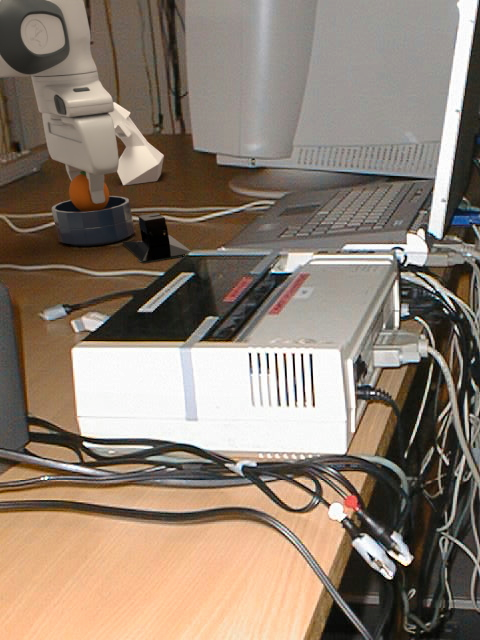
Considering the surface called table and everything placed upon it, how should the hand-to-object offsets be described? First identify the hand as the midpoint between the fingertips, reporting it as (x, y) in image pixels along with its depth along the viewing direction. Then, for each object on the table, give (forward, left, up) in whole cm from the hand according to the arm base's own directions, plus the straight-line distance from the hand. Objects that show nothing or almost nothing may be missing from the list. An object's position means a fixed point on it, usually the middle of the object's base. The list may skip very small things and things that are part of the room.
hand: (90, 199), depth 133 cm
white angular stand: (+24, +41, -6) cm, 48 cm away
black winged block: (+4, -13, -6) cm, 15 cm away
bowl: (0, 0, -6) cm, 6 cm away
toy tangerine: (0, 0, +1) cm, 1 cm away
